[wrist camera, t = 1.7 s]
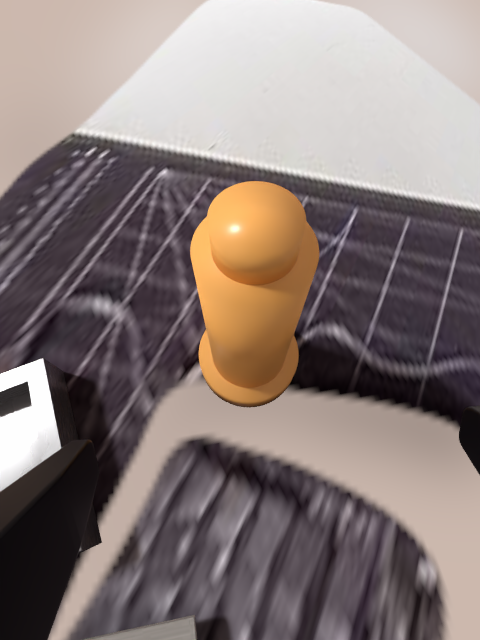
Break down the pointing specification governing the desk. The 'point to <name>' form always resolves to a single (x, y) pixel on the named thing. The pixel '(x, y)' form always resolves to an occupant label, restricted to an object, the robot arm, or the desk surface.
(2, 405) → the gray square tray
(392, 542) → the desk surface
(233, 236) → the orange game pawn
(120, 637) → the electrical outlet
